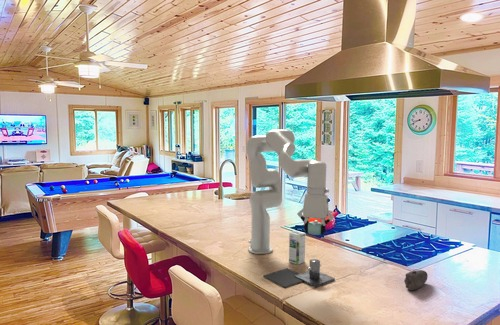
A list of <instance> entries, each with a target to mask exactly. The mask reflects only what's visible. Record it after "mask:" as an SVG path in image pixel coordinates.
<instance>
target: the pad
mask: <svg viewBox="0 0 500 325" xmlns="http://www.w3.org/2000/svg"><path fill="white" fill-rule="evenodd" d="M298 274H300V272H296V271H294V270H293V269H290V268H288V267H286V268H283V269H279V270H277V271H273V272H270V273H267V274H263V275H262V277H263V278H265V279H267V280H269V281H271V282H272V283H275V284H276V285H278V286H279V287H282V288H283V289H287V288H290V287H293V286H294V285H298V284H301V283H304V282H303V280H300V279H298V278H296V277H294V276H295V275H298Z"/></svg>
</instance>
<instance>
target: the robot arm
mask: <svg viewBox="0 0 500 325" xmlns="http://www.w3.org/2000/svg"><path fill="white" fill-rule="evenodd" d="M295 138H296V137H295V134H294V132H293V131H292V130H290V129H271V130H269V131H268V132H266V134H265V135H264V134H263V135H262V134H261V135H254V136H250V137H249V138H248V139H247V142H246V150H245V151H246V153H247V154H246V155H247V157H248V161H249V171H250V182H251V183H250V184H251V186H252V187H253V188H256V189H262V188H264V189H262V190H256V191H253V192H252V193H251V194H250V195H249V205H250V212H251V213H250V214H251V216H250V217H251V231H250V232H251V238H250V240H248V243H249V244H250V246H248V252H250V253H251V254H253V255H254V254H255V255H267V254H270V253H272V252H273V250H274V248H273V247H272V246H271V245H270V238H271V236H270V234H271V232H270V231H271V230H270V229H271V217H270V214H269V213H268V210H267V209H273V208H278V207H280V206H281V204H283V190H282V188H283V187H282V179H281V174H280V172H279V171H278V170H277V169H276V168H267V161H266V158H265V157H264V155H263V154H262V153H271V152H272V153H276V154H277V155H278V164H279V166H280V168H281V170H282V171H283V172H285V174H286V176H287V175H288V176H289V177H290V178H306V177H307V181H306V182H307V183H306V184H307V185H306V186H307V187H306V189H307V190H306V193H305V195H304V199H303V206H302V208H301V210H299V211H298V212H297V215H298V217H299V218H300V219H301V221H302V222H303V224H304V228H303V229H304V231H305V232H304V233H305V234H307V233H308V222H309V220H310V219H311V218H312V219H316V220H317V219H318V220H319V219H320V220H321V221H320V223H322V226H321V234H320V235H321V236H324V234H325V233H326V228H327V225H328V224H329V223H330V222H331V221H333V220H334V219H335V216H334V215H333V214H332V213H331V211H329V196H328V194H327V193H330V189H328V188H327V187H326V186H327V183H326V182H327V164H326V163H325V162H324V161H322V160H321V161H320V160H319V161H318V160H315V159H312V158H305V159H304V158H301V159H294V158H292V157H293V155H294V153H295V152H296V146H295V144H294V143H295V141H296V139H295ZM265 188H268V189H265ZM327 217H328V218H327Z"/></svg>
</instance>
